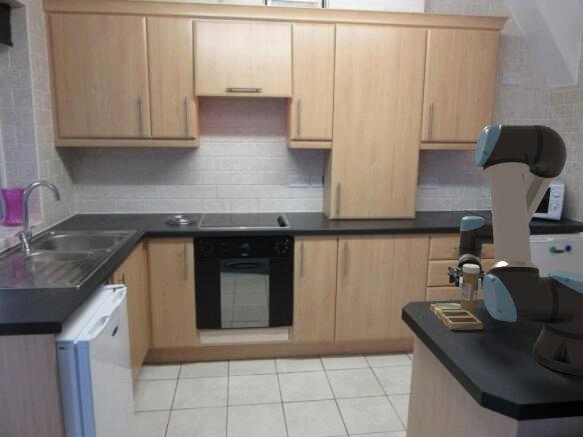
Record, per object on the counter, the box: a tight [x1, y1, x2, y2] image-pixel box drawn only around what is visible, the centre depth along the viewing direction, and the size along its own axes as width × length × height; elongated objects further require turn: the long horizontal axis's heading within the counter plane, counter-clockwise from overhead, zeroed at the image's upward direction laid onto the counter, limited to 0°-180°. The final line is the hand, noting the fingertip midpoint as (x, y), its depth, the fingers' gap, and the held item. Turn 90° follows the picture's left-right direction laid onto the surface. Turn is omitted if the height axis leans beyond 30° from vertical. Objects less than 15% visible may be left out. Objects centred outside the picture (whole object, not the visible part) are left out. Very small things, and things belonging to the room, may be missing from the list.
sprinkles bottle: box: [460, 264, 480, 312], centre depth 130 cm, size 5×5×13 cm
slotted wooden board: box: [430, 302, 484, 331], centre depth 141 cm, size 16×10×2 cm, turn 3°
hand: (470, 288), depth 125 cm, fingers closed on sprinkles bottle, 4 cm apart
